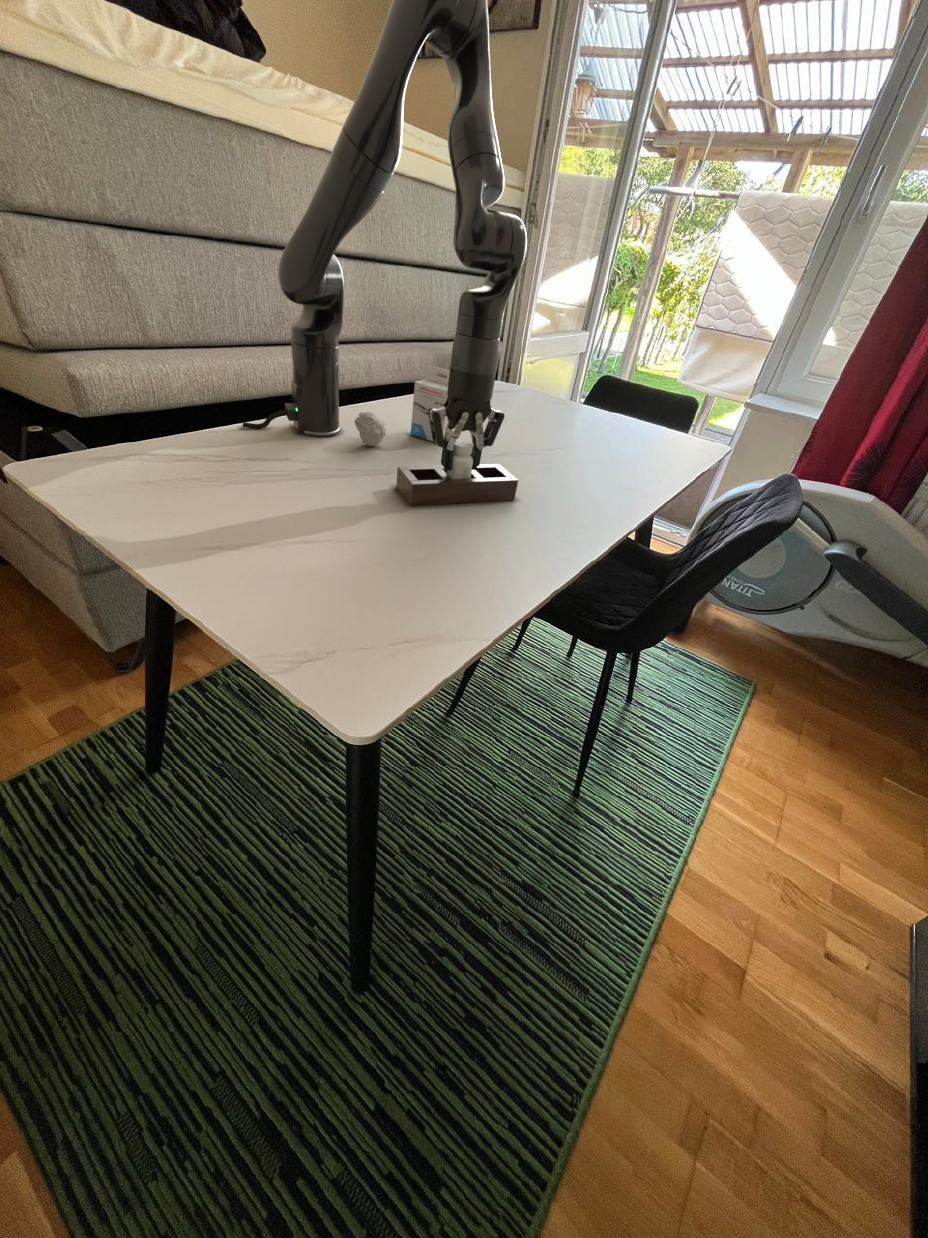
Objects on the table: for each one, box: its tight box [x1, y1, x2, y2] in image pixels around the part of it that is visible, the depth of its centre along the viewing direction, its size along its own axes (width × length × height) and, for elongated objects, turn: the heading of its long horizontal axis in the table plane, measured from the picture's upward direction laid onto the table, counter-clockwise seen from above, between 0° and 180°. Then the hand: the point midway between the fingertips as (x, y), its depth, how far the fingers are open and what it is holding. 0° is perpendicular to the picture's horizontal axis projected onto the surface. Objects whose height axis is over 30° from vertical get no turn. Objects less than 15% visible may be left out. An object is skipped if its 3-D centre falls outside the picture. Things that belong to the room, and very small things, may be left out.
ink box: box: [410, 364, 450, 443], centre depth 116 cm, size 9×5×15 cm, turn 65°
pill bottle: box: [447, 440, 473, 479], centre depth 93 cm, size 4×4×8 cm
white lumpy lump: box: [353, 411, 387, 447], centre depth 109 cm, size 6×7×7 cm
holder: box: [395, 463, 519, 507], centre depth 95 cm, size 8×21×4 cm, turn 114°
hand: (459, 468), depth 93 cm, fingers closed on pill bottle, 4 cm apart
